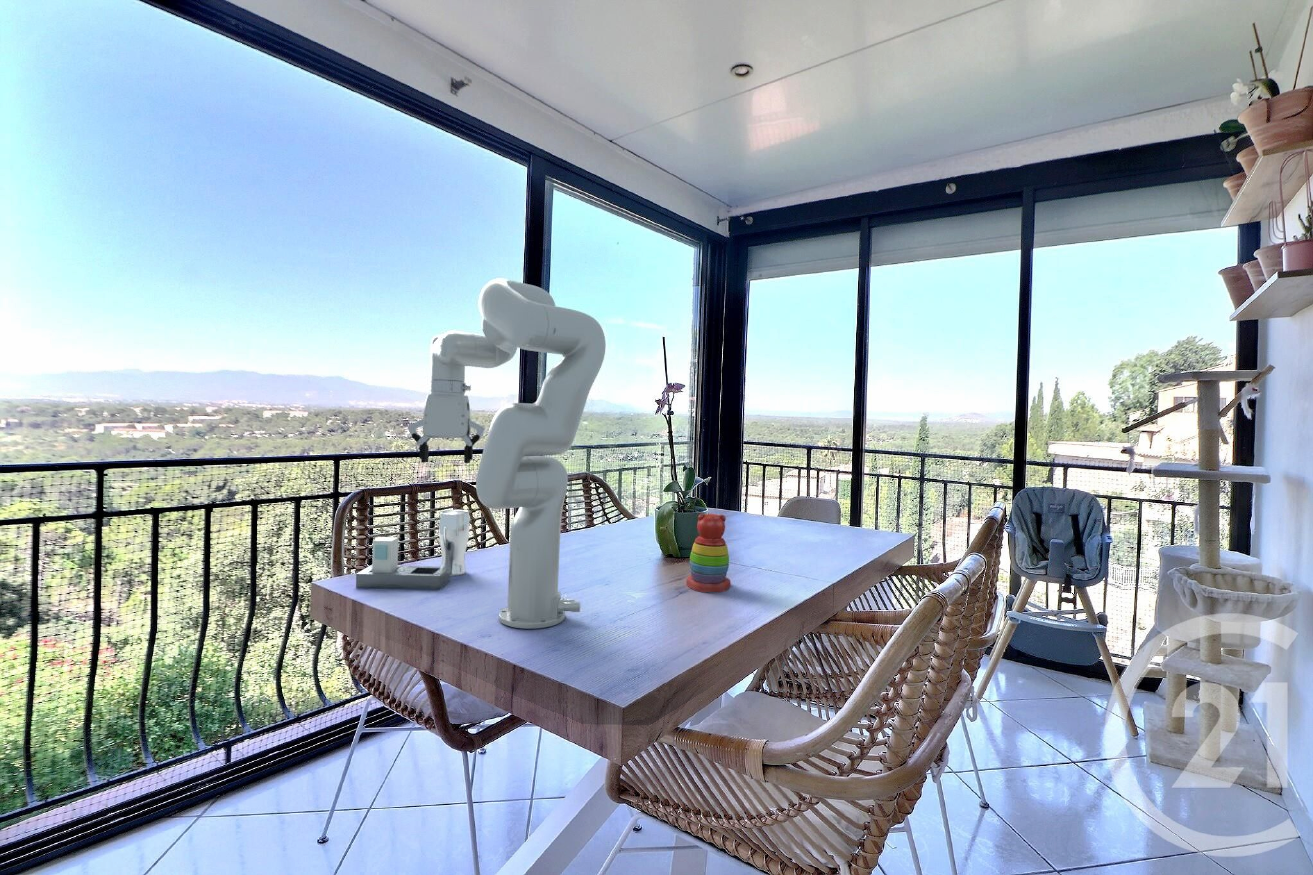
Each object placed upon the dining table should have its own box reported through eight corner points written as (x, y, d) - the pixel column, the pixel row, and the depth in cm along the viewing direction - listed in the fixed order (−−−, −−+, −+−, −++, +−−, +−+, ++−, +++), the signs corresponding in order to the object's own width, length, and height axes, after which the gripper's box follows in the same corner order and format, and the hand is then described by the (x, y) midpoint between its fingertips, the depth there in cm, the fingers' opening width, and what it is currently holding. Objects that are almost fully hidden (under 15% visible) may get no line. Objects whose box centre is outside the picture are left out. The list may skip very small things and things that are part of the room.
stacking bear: (730, 583, 148) (733, 511, 147) (731, 595, 138) (735, 518, 137) (686, 580, 149) (689, 509, 148) (684, 591, 139) (688, 515, 138)
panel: (449, 579, 140) (450, 566, 140) (439, 589, 132) (439, 576, 132) (371, 577, 139) (371, 564, 139) (355, 587, 131) (356, 573, 131)
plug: (397, 580, 137) (398, 537, 137) (388, 586, 133) (389, 541, 132) (379, 580, 137) (380, 536, 137) (370, 585, 132) (371, 541, 132)
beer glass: (462, 577, 142) (464, 514, 142) (433, 575, 142) (435, 513, 142) (471, 569, 149) (473, 510, 149) (444, 568, 149) (446, 509, 149)
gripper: (488, 391, 144) (486, 462, 144) (414, 389, 142) (412, 460, 142) (482, 389, 136) (480, 464, 136) (403, 387, 134) (402, 462, 135)
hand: (446, 462), depth 139 cm, fingers open, 9 cm apart
